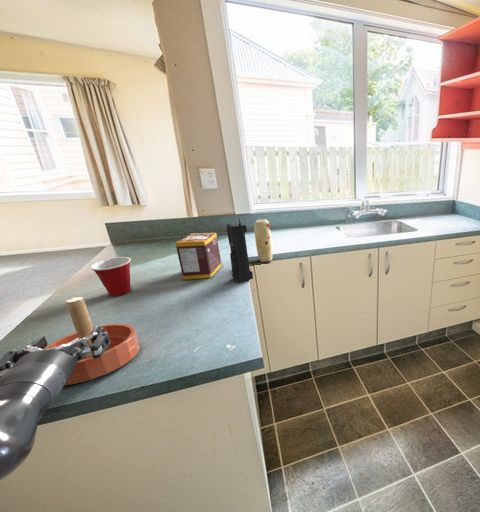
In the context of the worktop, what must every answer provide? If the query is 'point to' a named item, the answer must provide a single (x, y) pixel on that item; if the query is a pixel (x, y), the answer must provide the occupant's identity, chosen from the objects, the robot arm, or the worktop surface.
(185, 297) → the worktop surface
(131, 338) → the bowl
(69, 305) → the stirring stick
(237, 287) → the worktop surface
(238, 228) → the portable radio
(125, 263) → the plastic cup
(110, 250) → the worktop surface
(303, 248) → the worktop surface
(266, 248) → the food model
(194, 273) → the supplement box
